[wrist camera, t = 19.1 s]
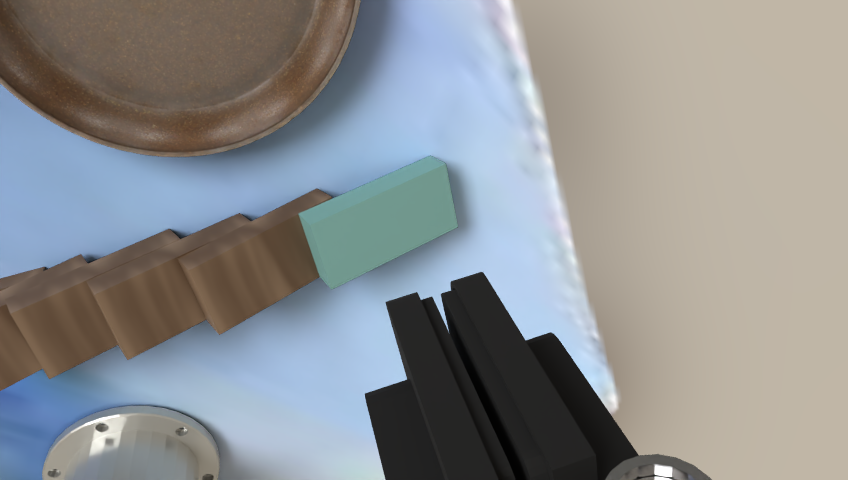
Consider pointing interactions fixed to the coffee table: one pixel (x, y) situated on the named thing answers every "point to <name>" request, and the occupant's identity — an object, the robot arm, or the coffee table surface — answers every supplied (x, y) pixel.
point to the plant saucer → (172, 67)
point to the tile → (379, 220)
